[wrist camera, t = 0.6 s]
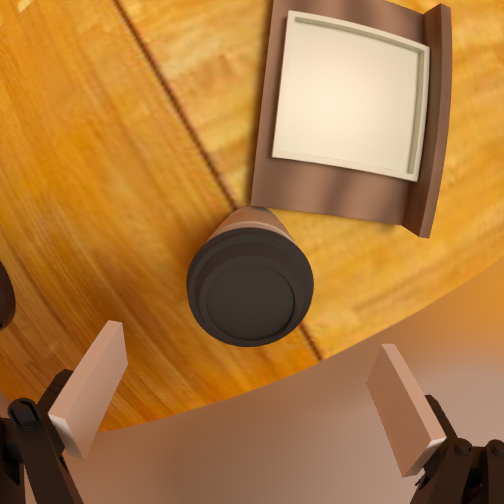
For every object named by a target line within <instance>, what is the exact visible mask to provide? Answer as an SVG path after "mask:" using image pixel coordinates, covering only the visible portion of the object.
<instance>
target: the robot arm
mask: <svg viewBox="0 0 504 504" xmlns="http://www.w3.org/2000/svg"><path fill="white" fill-rule="evenodd" d="M14 313H15V299H14V293H13V289H12V286H11V283H10V280H9V278H8V275H7V273H6V271H5V269H4V267H3V266H2V264H1V262H0V331H1V330H2V329H4V328H5V327H6V326H7V325H8V324H9V323H10V322H11V321H12V319H13V317H14ZM127 366H128V361H127V355H126V348H125V341H124V333H123V325H122V322H116V321H110V320H108V322H107V323H106V325H105V326H104V327H103V329H102V330H101V332H100V333H99V335H98V336H97V338H96V339H95V341H94V342H93V343H92V345H91V346H90V348H89V349H88V351H87V352H86V354H85V355H84V357H83V358H82V360H81V361H80V363H79V364H78V366H77V367H76V369H75V371H71V370H68V369H64V370H63V371H61V372H60V373H58V374H57V375H56V376H55V378H54V379H53V381H52V382H51V384H50V385H49V387H48V388H47V390H46V391H45V393H44V394H43V396H42V397H41V399H40V400H39V402H38V403H37V405H36V404H35V402H33V401H32V400H31V399H28V398H19V399H16V400H14V401H13V402H12V403H11V404H10V405H9V407H8V415H9V417H10V419H9V418H1V417H0V504H26V501H25V487H24V465H25V469H26V472H27V475H28V479H29V482H30V485H31V488H32V491H33V494H34V497H35V500H36V502H37V504H84V503H83V501H82V499H81V497H80V495H79V493H78V490H77V488H76V486H75V484H74V482H73V479H72V477H71V475H70V472H69V470H68V468H67V465H66V463H65V460H64V457H63V456H62V452H63V450H64V448H65V449H66V451H67V452H68V454H69V455H71V456H74V457H77V458H80V459H83V460H85V458H86V456H87V454H88V451H89V449H90V447H91V444H92V442H93V440H94V437H95V435H96V433H97V430H98V428H99V426H100V424H101V421H102V419H103V417H104V415H105V412H106V410H107V408H108V406H109V404H110V402H111V399H112V397H113V395H114V393H115V391H116V389H117V387H118V384H119V382H120V380H121V378H122V376H123V374H124V372H125V370H126V368H127ZM367 386H368V388H369V391H370V393H371V395H372V398H373V400H374V403H375V406H376V408H377V410H378V413H379V416H380V418H381V421H382V424H383V426H384V429H385V431H386V434H387V437H388V439H389V442H390V445H391V447H392V450H393V453H394V455H395V458H396V461H397V464H398V466H399V469H400V472H401V475H402V478H403V477H408V476H412V475H417V474H418V473H419V471H420V470H421V469H422V468H424V470H425V474H424V475H423V476H422V477H421V479H419V481H418V482H417V483H416V484H415V486H417V485H418V484H419V485H418V488H417V490H416V492H415V494H414V496H413V498H412V500H411V502H410V504H504V443H503V442H502V441H500V440H496V439H495V440H491V441H489V442H488V444H487V445H486V446H485V447H475V446H474V447H473V446H472V445H471V443H470V442H469V441H467V440H465V439H462V438H458V437H457V435H456V433H455V432H454V429H453V428H452V426H451V424H450V422H449V421H448V419H447V417H445V413H444V412H443V411H442V408H441V406H440V405H439V403H438V401H437V400H435V399H434V398H433V397H432V396H431V395H424V394H423V393H422V391H421V389H420V387H419V385H418V384H417V382H416V380H415V379H414V377H413V375H412V373H411V372H410V370H409V368H408V366H407V365H406V363H405V361H404V360H403V358H402V356H401V355H400V353H399V351H398V350H397V348H396V346H395V345H394V344H381V347H380V349H379V352H378V355H377V357H376V360H375V363H374V365H373V368H372V370H371V373H370V375H369V378H368V380H367Z"/></svg>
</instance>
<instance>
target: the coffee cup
mask: <svg viewBox="0 0 504 504" xmlns="http://www.w3.org/2000/svg"><path fill="white" fill-rule="evenodd" d="M313 289H314V281H313V274H312V270H311V267H310V264H309V262H308V260H307V258H306V257H305V255H304V254H303V252H302V251H301V250H300V249H299V248H298V246H297V245H296V243H295V242H294V240H293V239H292V237H291V236H290V234H289V233H288V231H287V230H286V228H285V227H284V225H283V224H282V223H281V222H280V221H279V220H278V218H277V217H276V216H275V215H274V214H273V213H272V212H271V211H269V210H267V209H265V208H263V207H259V206H245V207H242V208H239V209H237V210H235V211H234V212H232V213H231V214H230V215H229V216H228V217H227V218H226V220H224V221H223V222H222V223H221V224H220V225H219V227H218V228H217V229H216V230H215V231H214V233H213V234H212V235H211V236H210V237H209V239H208V240H207V241H206V242H205V244H204V245H203V246H202V247H201V248H200V250H199V251H198V252H197V253H196V255H195V257H194V258H193V260H192V262H191V264H190V267H189V270H188V275H187V293H188V300H189V305H190V308H191V311H192V313H193V315H194V317H195V319H196V321H197V322H198V323H199V325H200V326H201V327H202V328H203V329H204V330H205V331H206V332H207V333H208V334H210V335H211V336H212V337H214V338H216V339H218V340H219V341H222V342H224V343H227V344H230V345H234V346H240V347H256V346H262V345H266V344H270V343H272V342H275V341H277V340H279V339H281V338H283V337H285V336H286V335H288V334H289V333H290V332H292V331H293V330H294V329H295V328H296V327H297V326H298V325H299V324H300V322H301V321H302V320H303V318H304V317H305V315H306V313H307V311H308V309H309V307H310V304H311V300H312V295H313Z"/></svg>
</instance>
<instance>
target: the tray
mask: <svg viewBox="0 0 504 504" xmlns="http://www.w3.org/2000/svg"><path fill="white" fill-rule="evenodd" d="M429 58H430V47H428V46H425V45H422V44H420V43H417V42H414V41H412V40H409V39H406V38H403V37H400V36H397V35H394V34H391V33H388V32H385V31H381V30H378V29H374V28H371V27H367V26H364V25H360V24H356V23H352V22H348V21H344V20H339V19H335V18H330V17H325V16H320V15H315V14H309V13H303V12H297V11H290V10H289V11H288V15H287V20H286V30H285V39H284V48H283V57H282V66H281V75H280V84H279V93H278V102H277V111H276V120H275V128H274V137H273V146H272V154H271V156H272V157H277V158H285V159H293V160H300V161H307V162H314V163H321V164H327V165H334V166H340V167H346V168H351V169H357V170H362V171H368V172H373V173H378V174H383V175H388V176H393V177H398V178H402V179H407V180H411V181H416V182H417V180H418V174H419V168H420V161H421V154H422V147H423V139H424V131H425V121H426V111H427V99H428V83H429Z"/></svg>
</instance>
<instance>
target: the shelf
mask: <svg viewBox="0 0 504 504" xmlns="http://www.w3.org/2000/svg"><path fill="white" fill-rule="evenodd" d="M289 10H290V11H297V12H303V13H309V14H315V15H320V16H325V17H330V18H335V19H339V20H344V21H348V22H352V23H356V24H360V25H364V26H367V27H371V28H374V29H378V30H381V31H385V32H388V33H391V34H394V35H397V36H400V37H403V38H406V39H409V40H412V41H414V42H417V43H420V44H422V45H425V46H428V47H430V58H429V83H428V99H427V111H426V121H425V131H424V139H423V147H422V154H421V161H420V168H419V174H418V180H417V182H416V181H411V180H407V179H402V178H398V177H393V176H388V175H383V174H378V173H373V172H368V171H362V170H357V169H351V168H346V167H340V166H334V165H327V164H321V163H314V162H307V161H300V160H293V159H285V158H277V157H272V156H271V154H272V146H273V137H274V128H275V120H276V111H277V102H278V93H279V84H280V75H281V66H282V57H283V48H284V39H285V30H286V20H287V15H288V11H289ZM451 87H452V26H451V9H450V8H449V7H447V6H445V5H443V4H441V3H440V4H439V5H437V6H435V7H434V8H432V9H431V10H429V11H427V12H426V13H424V14H421V13H418V12H416V11H413V10H411V9H408V8H405V7H402V6H400V5H397V4H394V3H391V2H388V1H385V0H274V1H273V9H272V18H271V26H270V35H269V43H268V52H267V60H266V69H265V78H264V86H263V95H262V104H261V113H260V121H259V130H258V139H257V148H256V157H255V166H254V175H253V185H252V194H251V205H250V206H259V207H268V208H277V209H285V210H294V211H302V212H310V213H318V214H326V215H333V216H341V217H348V218H355V219H362V220H369V221H376V222H382V223H389V224H395V225H402V226H403V227H405V228H406V229H408V230H409V231H411V232H412V233H414V234H415V235H417V236H418V237H422V238H429V237H430V233H431V228H432V224H433V219H434V215H435V210H436V205H437V200H438V195H439V190H440V184H441V179H442V173H443V166H444V160H445V153H446V145H447V137H448V127H449V117H450V104H451Z"/></svg>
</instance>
